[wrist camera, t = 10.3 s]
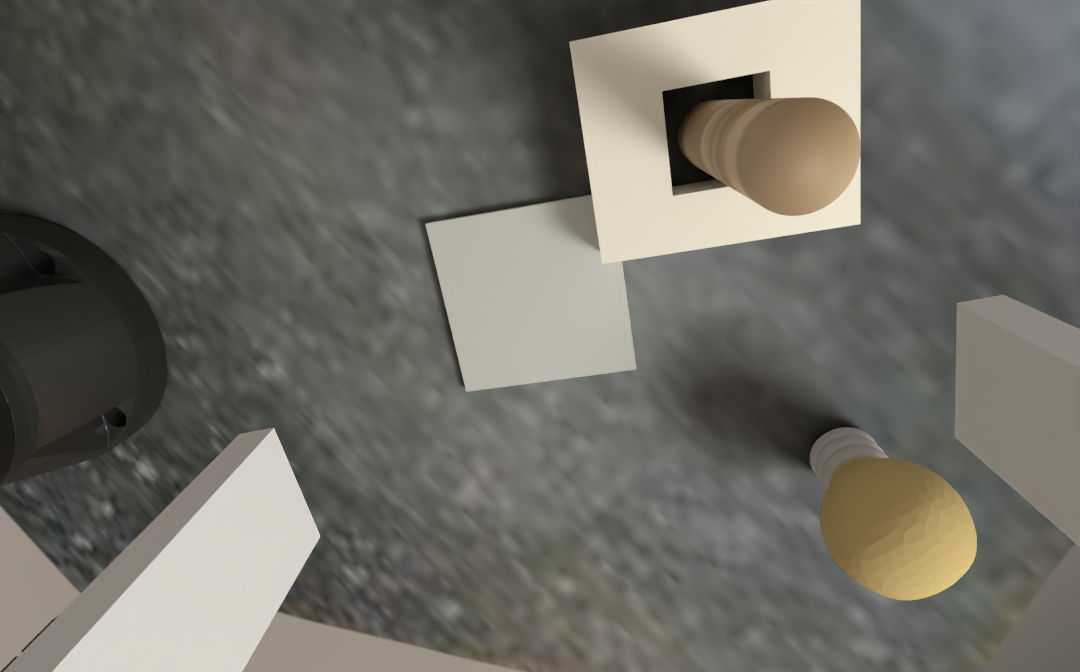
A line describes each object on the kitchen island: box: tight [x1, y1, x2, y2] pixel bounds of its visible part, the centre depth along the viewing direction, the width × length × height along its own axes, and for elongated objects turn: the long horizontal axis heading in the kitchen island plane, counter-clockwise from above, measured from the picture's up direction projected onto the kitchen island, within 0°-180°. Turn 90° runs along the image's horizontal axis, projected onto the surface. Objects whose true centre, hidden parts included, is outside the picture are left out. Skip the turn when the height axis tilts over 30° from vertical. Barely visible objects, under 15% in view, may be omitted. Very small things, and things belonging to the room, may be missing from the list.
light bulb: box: [810, 427, 977, 600], centre depth 31 cm, size 6×6×10 cm
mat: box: [425, 194, 637, 392], centre depth 34 cm, size 10×10×1 cm
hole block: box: [569, 0, 860, 264], centre depth 29 cm, size 12×10×3 cm
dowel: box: [677, 97, 861, 216], centre depth 24 cm, size 3×3×14 cm
